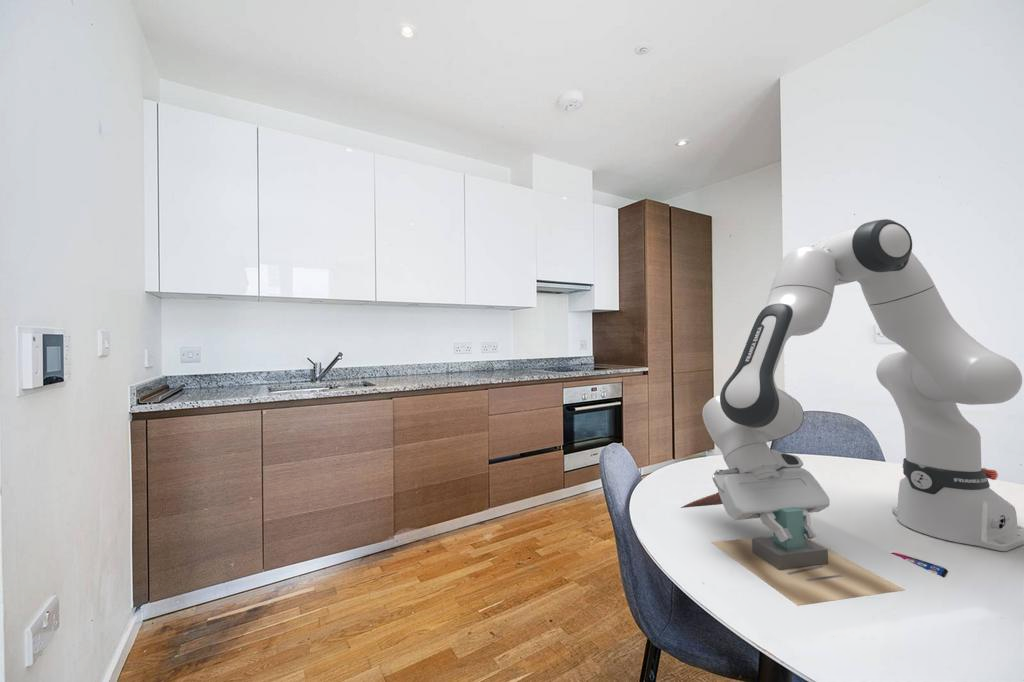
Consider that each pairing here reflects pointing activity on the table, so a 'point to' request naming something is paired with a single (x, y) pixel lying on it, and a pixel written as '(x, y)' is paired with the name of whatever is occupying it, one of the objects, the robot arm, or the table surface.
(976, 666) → the table surface
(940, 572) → the blue red thin stick
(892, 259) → the robot arm
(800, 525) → the sanding block
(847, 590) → the board
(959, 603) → the table surface
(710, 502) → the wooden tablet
